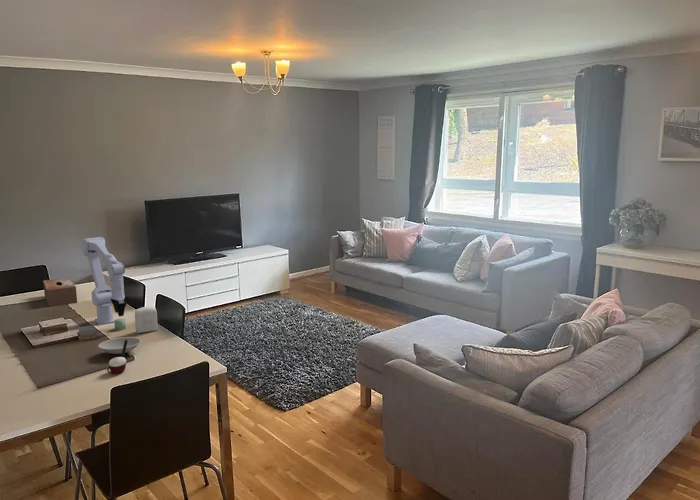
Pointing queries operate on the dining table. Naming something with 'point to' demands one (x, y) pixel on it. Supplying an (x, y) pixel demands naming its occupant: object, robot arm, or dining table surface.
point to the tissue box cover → (60, 292)
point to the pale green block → (120, 324)
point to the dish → (119, 345)
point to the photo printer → (146, 319)
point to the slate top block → (86, 330)
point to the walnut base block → (85, 336)
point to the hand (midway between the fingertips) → (119, 314)
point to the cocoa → (118, 362)
